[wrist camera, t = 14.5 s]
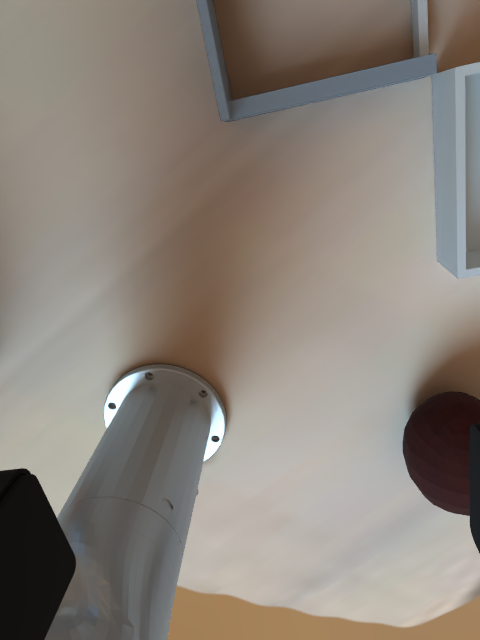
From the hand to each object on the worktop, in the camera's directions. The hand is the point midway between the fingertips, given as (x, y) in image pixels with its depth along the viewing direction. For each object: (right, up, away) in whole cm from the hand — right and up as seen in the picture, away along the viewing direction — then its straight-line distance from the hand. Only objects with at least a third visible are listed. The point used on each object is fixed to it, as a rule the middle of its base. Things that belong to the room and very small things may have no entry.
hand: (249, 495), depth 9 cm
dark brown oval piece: (+20, -6, +35) cm, 40 cm away
